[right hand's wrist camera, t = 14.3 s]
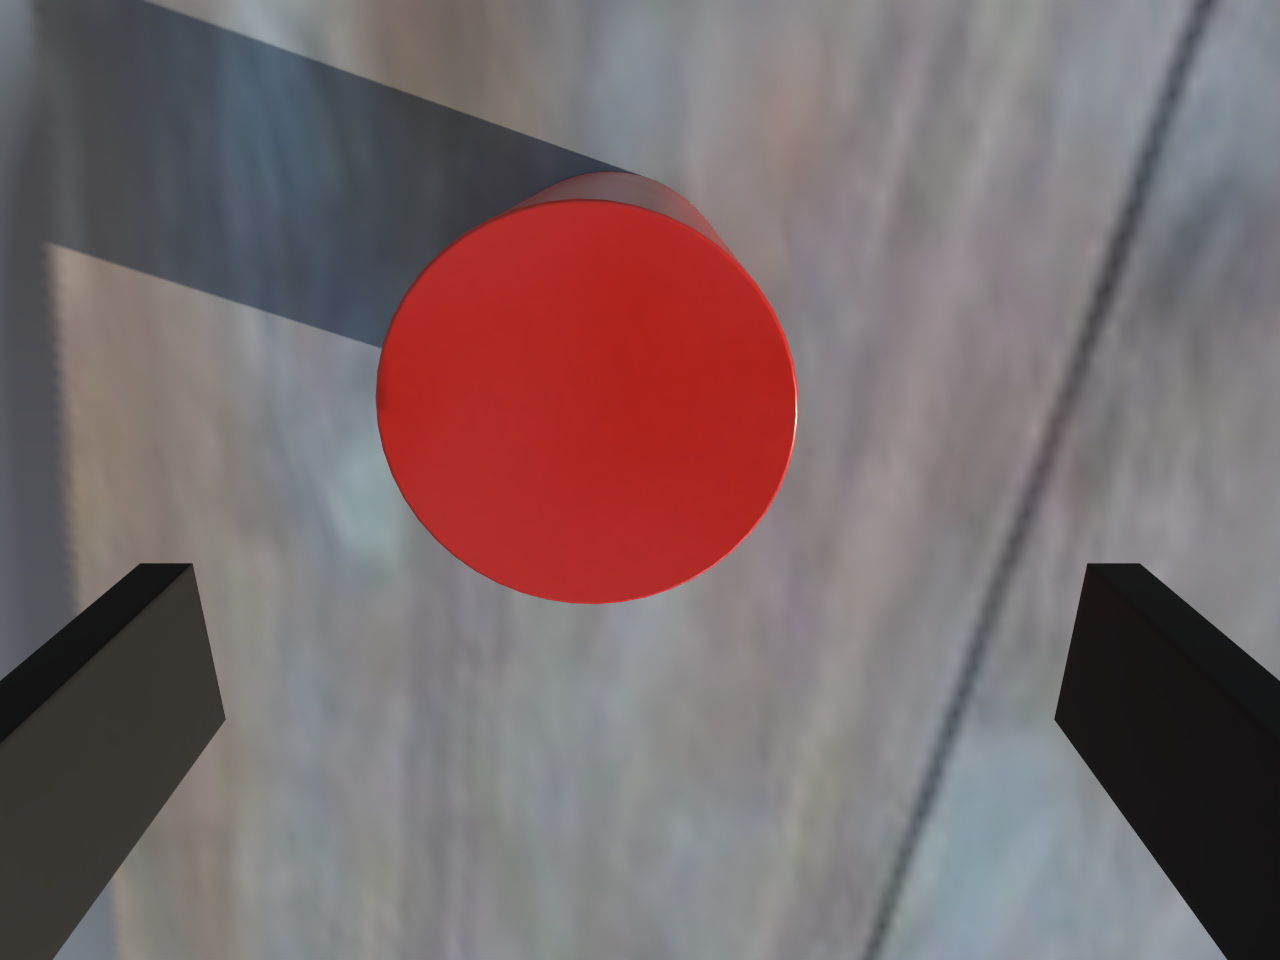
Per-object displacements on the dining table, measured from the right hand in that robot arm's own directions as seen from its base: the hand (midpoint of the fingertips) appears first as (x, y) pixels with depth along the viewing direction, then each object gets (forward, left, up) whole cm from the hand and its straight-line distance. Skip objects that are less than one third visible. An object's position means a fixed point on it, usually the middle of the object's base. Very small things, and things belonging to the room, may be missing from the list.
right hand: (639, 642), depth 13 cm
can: (0, +3, -16) cm, 16 cm away
